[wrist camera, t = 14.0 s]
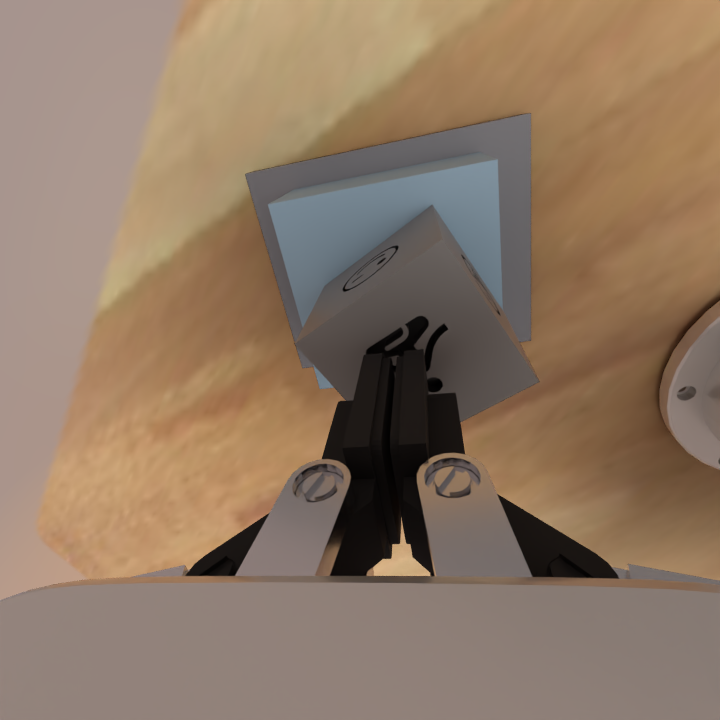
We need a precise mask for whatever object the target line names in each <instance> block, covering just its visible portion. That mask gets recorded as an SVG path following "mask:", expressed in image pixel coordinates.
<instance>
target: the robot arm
mask: <svg viewBox="0 0 720 720" xmlns="http://www.w3.org/2000/svg"><path fill="white" fill-rule="evenodd" d="M659 394H660V410H661V413H662V417H663V420H664V423H665V425H666V426H667V428H668V430H669V431H670V433H671V434H672V436H673V437H674V438H675V439H676V440H677V441H678V443H679V444H680V445H681V446H682V447H683V448H684V449H685V450H686V451H687V453H689V454H690V455H692V456H693V457H695V458H696V459H698V460H699V461H701V462H702V463H704V464H706V465H709V466H711V467H713V468H716V469H719V470H720V301H719V302H718V303H716V304H715V305H714V306H712V307H711V308H710V309H709V310H707V311H706V312H705V314H704V315H703V316H702V317H701V318H700V319H699V320H698V321H697V322H696V323H695V324H694V325H693V326H692V327H691V328H690V329H689V330H688V331H687V333H686V334H685V335H684V337H683V338H682V340H681V341H680V342H679V344H678V345H677V347H676V348H675V349H674V351H673V353H672V355H671V357H670V359H669V361H668V363H667V366H666V368H665V370H664V373H663V377H662V381H661V386H660V390H659ZM401 517H402V523H403V528H404V534H405V540H406V543H407V544H411V549H412V555H413V558H414V559H416V560H417V561H418V562H419V563H420V564H421V565H422V566H423V567H425V568H426V569H427V570H428V571H429V572H430V576H374V571H373V567H374V566H375V565H376V564H377V563H378V562H380V561H381V560H382V559H391V556H392V544H400V534H401ZM0 720H720V581H718V580H712V579H707V578H701V577H696V576H691V575H685V574H680V573H674V572H669V571H664V570H658V569H653V568H647V567H642V566H636V565H631V564H628V566H627V570H624V569H618V568H613V567H611V566H610V565H609V564H608V563H607V562H606V561H605V560H603V559H602V558H601V557H599V556H598V555H597V554H596V553H594V552H592V551H591V550H589V549H587V548H586V547H584V546H582V545H581V544H579V543H577V542H576V541H574V540H572V539H571V538H569V537H567V536H566V535H564V534H563V533H561V532H559V531H558V530H556V529H554V528H553V527H551V526H549V525H548V524H546V523H544V522H543V521H541V520H539V519H538V518H536V517H534V516H533V515H531V514H529V513H528V512H526V511H524V510H523V509H521V508H519V507H518V506H516V505H515V504H513V503H511V502H510V501H508V500H506V499H505V498H503V497H501V496H500V495H498V494H497V493H496V490H495V488H494V486H493V483H492V481H491V479H490V476H489V474H488V472H487V470H486V469H485V467H484V466H483V464H482V463H480V462H479V461H478V460H476V459H475V458H473V457H470V456H468V455H465V451H464V444H463V437H462V431H461V424H460V417H459V410H458V404H457V397H456V392H455V393H442V394H429V392H428V383H427V374H426V365H425V356H424V349H419V350H409V351H404V356H399V357H397V359H396V371H395V376H394V370H393V363H392V358H391V357H388V358H385V357H384V354H383V353H377V354H367V355H364V356H363V360H362V364H361V368H360V373H359V377H358V381H357V386H356V390H355V394H354V399H353V400H350V401H340V402H338V404H337V407H336V411H335V414H334V418H333V421H332V425H331V428H330V432H329V435H328V439H327V443H326V446H325V450H324V453H323V457H322V459H321V460H316V461H312V462H309V463H307V464H305V465H303V466H301V467H300V468H299V469H297V470H296V471H295V472H294V473H293V474H292V475H291V477H290V478H289V479H288V481H287V483H286V484H285V486H284V488H283V490H282V492H281V493H280V495H279V497H278V499H277V501H276V503H275V504H274V506H273V508H272V510H271V512H270V513H269V514H267V515H266V516H264V517H263V518H261V519H260V520H258V521H257V522H255V523H254V524H252V525H251V526H249V527H248V528H246V529H245V530H243V531H242V532H240V533H239V534H237V535H236V536H234V537H233V538H231V539H229V540H228V541H226V542H225V543H223V544H222V545H220V546H219V547H217V548H216V549H214V550H213V551H211V552H210V553H208V554H207V555H205V556H204V557H203V558H202V559H200V560H199V561H198V562H197V563H195V564H194V566H193V567H192V568H191V569H190V570H188V569H187V568H186V566H185V565H183V566H178V567H174V568H170V569H165V570H161V571H156V572H152V573H147V574H143V575H138V576H134V577H123V578H105V579H89V580H80V581H73V582H66V583H59V584H53V585H49V586H45V587H41V588H36V589H32V590H28V591H26V592H22V593H19V594H17V595H14V596H11V597H8V598H6V599H2V600H0Z"/></svg>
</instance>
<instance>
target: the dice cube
mask: <svg viewBox="0 0 720 720" xmlns="http://www.w3.org/2000/svg"><path fill="white" fill-rule="evenodd" d="M295 345H296V346H297V348H298V349H299V350H300V351H301V352H302V353H303V354H304V355H305V356H306V357H307V358H308V360H309V361H310V362H311V363H312V364H313V365H314V366H315V367H316V368H317V369H318V370H319V372H320V373H321V374H322V375H323V376H324V377H325V378H326V379H327V380H328V381H329V382H330V384H331V385H332V386H333V387H334V388H335V389H336V390H337V391H338V392H339V393H340V394H341V396H342V397H343V398H344V399H345V400H346V401H350V400H353V399H354V394H355V390H356V386H357V381H358V377H359V373H360V368H361V364H362V360H363V356H364V355H367V354H377V353H383V354H384V357H385V358H388V357H391V358H392V363H393V370H394V376H395V371H396V359H397V357H399V356H404V351H409V350H419V349H424V356H425V365H426V374H427V383H428V392H429V394H442V393H455V392H456V397H457V404H458V410H459V417H460V422H462V421H464V420H466V419H468V418H470V417H472V416H474V415H476V414H478V413H479V412H481V411H483V410H485V409H487V408H489V407H491V406H493V405H495V404H497V403H499V402H501V401H503V400H505V399H507V398H509V397H511V396H513V395H515V394H517V393H519V392H521V391H523V390H525V389H526V388H528V387H530V386H532V385H534V384H536V383H538V382H539V380H538V378H537V376H536V374H535V372H534V370H533V368H532V366H531V364H530V362H529V360H528V358H527V356H526V354H525V352H524V350H523V348H522V346H521V344H520V342H519V340H518V338H517V336H516V334H515V332H514V330H513V329H512V327H511V325H510V323H509V321H508V319H507V317H506V315H505V313H504V311H503V310H502V308H501V307H500V305H499V304H498V302H497V301H496V299H495V298H494V296H493V295H492V293H491V292H490V290H489V289H488V287H487V286H486V284H485V283H484V281H483V280H482V278H481V277H480V275H479V274H478V272H477V271H476V269H475V268H474V266H473V265H472V263H471V262H470V260H469V259H468V257H467V256H466V254H465V253H464V251H463V250H462V248H461V247H460V245H459V244H458V242H457V241H456V239H455V238H454V236H453V235H452V233H451V232H450V230H449V229H448V227H447V226H446V224H445V223H444V221H443V220H442V218H441V217H440V215H439V214H438V212H437V211H436V209H435V208H434V206H433V205H431V206H430V207H429V208H427V209H426V210H425V211H423V212H422V213H421V214H419V215H418V216H417V217H415V218H414V219H413V220H411V221H410V222H409V223H407V224H406V225H405V226H403V227H402V228H401V229H399V230H398V231H397V232H395V233H394V234H393V235H391V236H390V237H389V238H387V239H386V240H385V241H383V242H382V243H381V244H379V245H378V246H377V247H376V248H374V249H373V250H372V251H370V252H369V253H368V254H366V255H365V256H364V257H362V258H361V259H360V260H358V261H357V262H356V263H354V264H353V265H352V266H350V267H349V268H348V269H346V270H345V271H344V272H342V273H341V274H340V275H338V276H337V277H336V278H334V279H333V280H332V281H330V282H329V283H328V284H326V285H325V286H324V288H323V290H322V292H321V294H320V296H319V297H318V299H317V301H316V303H315V305H314V307H313V309H312V311H311V313H310V315H309V317H308V319H307V321H306V323H305V325H304V327H303V329H302V330H301V332H300V334H299V336H298V338H297V340H296V342H295Z"/></svg>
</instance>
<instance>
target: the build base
mask: <svg viewBox="0 0 720 720" xmlns="http://www.w3.org/2000/svg"><path fill="white" fill-rule="evenodd" d="M245 176H246V179H247V183H248V186H249V189H250V193H251V196H252V199H253V203H254V206H255V210H256V213H257V216H258V220H259V223H260V226H261V230H262V233H263V237H264V240H265V243H266V247H267V250H268V253H269V257H270V260H271V264H272V267H273V270H274V274H275V277H276V280H277V284H278V287H279V290H280V294H281V297H282V301H283V304H284V307H285V311H286V314H287V317H288V321H289V324H290V328H291V331H292V334H293V338H294V341H295V342H296V340H297V338H298V336H299V334H300V332H301V330H302V329H303V327H304V325H305V323H306V321H307V319H308V317H309V315H310V313H311V311H312V309H313V307H314V305H315V303H316V301H317V299H318V297H319V296H320V294H321V292H322V290H323V288H324V286H325V285H326V284H328V283H329V282H330V281H332V280H333V279H334V278H336V277H337V276H338V275H340V274H341V273H342V272H344V271H345V270H346V269H348V268H349V267H350V266H352V265H353V264H354V263H356V262H357V261H358V260H360V259H361V258H362V257H364V256H365V255H366V254H368V253H369V252H370V251H372V250H373V249H374V248H376V247H377V246H378V245H379V244H381V243H382V242H383V241H385V240H386V239H387V238H389V237H390V236H391V235H393V234H394V233H395V232H397V231H398V230H399V229H401V228H402V227H403V226H405V225H406V224H407V223H409V222H410V221H411V220H413V219H414V218H415V217H417V216H418V215H419V214H421V213H422V212H423V211H425V210H426V209H427V208H429V207H430V206H431V205H433V206H434V208H435V209H436V211H437V212H438V214H439V215H440V217H441V218H442V220H443V221H444V223H445V224H446V226H447V227H448V229H449V230H450V232H451V233H452V235H453V236H454V238H455V239H456V241H457V242H458V244H459V245H460V247H461V248H462V250H463V251H464V253H465V254H466V256H467V257H468V259H469V260H470V262H471V263H472V265H473V266H474V268H475V269H476V271H477V272H478V274H479V275H480V277H481V278H482V280H483V281H484V283H485V284H486V286H487V287H488V289H489V290H490V292H491V293H492V295H493V296H494V298H495V299H496V301H497V302H498V304H499V305H500V307H501V308H502V310H503V311H504V313H505V315H506V317H507V319H508V321H509V323H510V325H511V327H512V329H513V330H514V332H515V334H516V336H517V338H518V340H519V342H524V341H531V113H528V114H521V115H516V116H512V117H507V118H502V119H498V120H493V121H488V122H484V123H479V124H474V125H470V126H465V127H460V128H456V129H451V130H446V131H441V132H437V133H432V134H427V135H423V136H418V137H413V138H409V139H404V140H399V141H395V142H390V143H385V144H381V145H376V146H371V147H366V148H362V149H357V150H352V151H348V152H343V153H338V154H334V155H329V156H324V157H320V158H315V159H310V160H306V161H301V162H296V163H291V164H287V165H282V166H277V167H273V168H268V169H263V170H259V171H254V172H250V173H247V174H245ZM296 348H297V346H296ZM297 351H298V355H299V358H300V361H301V365H302V368H309V367H314V370H315V373H316V377H317V381H318V384H319V388H320V389H326V388H334V387H333V386H332V385H331V384H330V382H329V381H328V380H327V379H326V378H325V377H324V376H323V375H322V374H321V373H320V372H319V370H318V369H317V368H316V367H315V366H314V365H313V364H312V363H311V362H310V361H309V360H308V358H307V357H306V356H305V355H304V354H303V353H302V352H301V351H300V350H299V349H298V348H297Z"/></svg>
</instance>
